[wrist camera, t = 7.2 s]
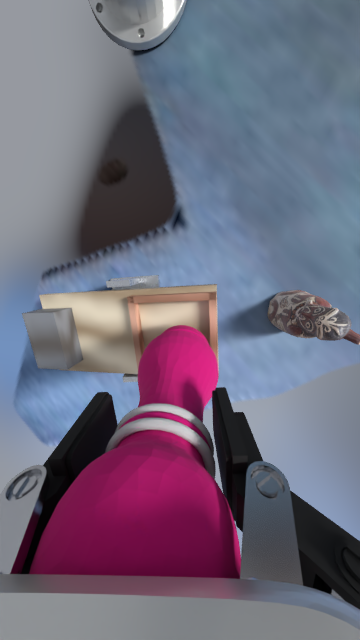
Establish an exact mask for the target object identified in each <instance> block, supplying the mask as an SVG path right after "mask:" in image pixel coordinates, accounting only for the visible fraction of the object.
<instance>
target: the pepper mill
mask: <svg viewBox="0 0 360 640" xmlns="http://www.w3.org/2000/svg"><path fill="white" fill-rule="evenodd" d="M217 382H218V363H217V358H216V356H215V353H214V352H213V350H212V348H211V347H210V346H209V344H208V341H207V339H206V338H205V336H204V335H203V334H202V333H201V332H200V331H198V330H197V329H195V328H193V327H190V326H186V325H177V326H173V327H170V328H168V329H167V330H165V331H164V332H163V333H162V334H161V335H159V336H157V337H156V338H154V339H153V340H152V341H151V342H150V343H149V344H148V345H147V347H146V348H145V350H144V352H143V354H142V357H141V359H140V362H139V367H138V385H139V392H140V402H139V405H138V408H136V409H133V410H132V411H130V412H129V413H128V414H126V415H125V416H124V417H123V418H122V420H121V421H120V422H119V424H118V426H117V428H116V430H115V434H114V435H113V436H112V438H111V439H110V441H109V443H108V445H107V448H106V452H105V454H103V455H102V456H100V457H99V458H97V459H96V460H94V461H92V462H91V463H90V464H89V465H88V466H87V467H86V468H84V469H83V470H82V471H81V473H80V474H79V475H78V477H77V478H76V479H75V480H74V482H73V483H72V484H71V486H70V487H69V488H68V490H67V491H66V492H65V494H64V495H63V497H62V498H61V499H60V501H59V502H58V504H57V506H56V508H55V510H54V512H53V514H52V516H51V518H50V520H49V522H48V524H47V526H46V528H45V530H44V532H43V534H42V536H41V539H40V542H39V545H38V547H37V550H36V553H35V556H34V559H33V562H32V564H31V568H30V572H29V574H46V575H111V576H159V577H199V578H229V579H240V570H241V555H240V547H239V541H238V536H237V531H236V526H235V523H234V519H233V516H232V512H231V509H230V507H229V504H228V501H227V499H226V498H225V496H224V494H223V493H222V491H221V489H220V488H219V486H218V484H217V483H216V481H215V480H214V479H215V461H214V457H213V455H214V447H213V442H212V439H211V436H210V433H209V432H208V430H207V428H206V427H205V425H204V424H203V411H204V407H205V406H206V404H207V403H208V401H209V400H210V398H211V397H212V391H214V390H215V388H216V385H217Z"/></svg>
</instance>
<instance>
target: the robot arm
mask: <svg viewBox="0 0 360 640" xmlns="http://www.w3.org/2000/svg"><path fill="white" fill-rule="evenodd" d="M186 1H187V0H89V3H90V6H91V9H92V11H93V13H94V15H95V18H96V20H97V21H98V23H99V25H100V27H101V28H102V30H103V31H104V32H105V33H106V34H107V35H108V37H109V38H110V39H112V40H113V41H114V42H116V43H117V44H118V45H120V46H123V47H125V48H127V49H131V50H147V49H150V48H152V47H155V46H157V45H158V44H160V43H161V42H163V41H164V40H165V39H166V38H167V37H168V36H169V35H170V34H171V33H172V31H173V30H174V29H175V27H176V26H177V24H178V22H179V20H180V18H181V16H182V14H183V11H184V8H185V5H186ZM212 405H213V431H214V439H215V445H216V451H217V457H218V463H219V469H220V476H221V482H222V488H223V494H224V496H225V498H226V499H227V501H228V504H229V507H230V509H231V512H232V516H233V519H234V521H236V525H237V527H238V528H239V529H240V530H241V531H242V532H243V538H242V554H241V570H240V579H229V578H199V577H159V576H111V575H46V574H29V572H30V568H31V564H32V562H33V559H34V556H35V553H36V550H37V547H38V545H39V542H40V539H41V536H42V534H43V532H44V530H45V528H46V526H47V524H48V522H49V520H50V518H51V516H52V514H53V512H54V510H55V508H56V506H57V504H58V502H59V501H60V499H61V498H62V497H63V495H64V494H65V492H66V491H67V490H68V488H69V487H70V486H71V484H72V483H73V482H74V480H75V479H76V478H77V477H78V475H79V474H80V473H81V471H82V470H83V469H84V468H86V467H87V466H88V465H89V464H90V463H91V462H92V461H94V460H96V459H97V458H99V457H100V456H102V455H103V454H105V452H106V448H107V445H108V443H109V441H110V439H111V438H112V436H113V435H114V434H115V430H116V428H117V426H118V425H117V420H116V415H115V410H114V405H113V400H112V396H111V395H109V393H108V392H98V393H97V394H96V395H95V396H94V398H93V399H92V400H91V402H90V403H89V404H88V406H87V407H86V408H85V410H84V411H83V412H82V414H81V415H80V416H79V418H78V419H77V420H76V422H75V423H74V424H73V426H72V427H71V429H70V430H69V431H68V433H67V434H66V435H65V437H64V438H63V439H62V441H61V442H60V443H59V445H58V446H57V447H56V449H55V450H54V451H53V453H52V454H51V456H50V457H49V458H48V460H47V461H46V462H45V464H44V465H43V466H42V465H36V466H31V467H29V468H27V469H25V470H23V471H22V472H20V473H19V474H17V475H16V476H15V477H14V478H13V479H12V480H11V481H10V482H9V483H8V484H7V485H6V486H5V488H4V489H3V491H2V493H1V494H0V640H360V541H359V540H357V539H356V538H354V537H353V536H352V535H350V534H349V533H348V532H346V531H345V530H344V529H342V528H340V527H339V526H338V525H337V524H335V523H334V522H333V521H331V520H330V519H328V518H327V517H326V516H324V515H323V514H322V513H320V512H319V511H317V510H316V509H315V508H313V507H312V506H311V505H309V504H308V503H307V502H305V501H304V500H302V499H301V498H300V497H298V496H297V495H296V494H294V493H293V492H292V491H290V487H289V484H288V481H287V479H286V478H285V476H284V474H282V472H281V471H280V470H279V469H278V468H276V467H275V466H274V465H272V464H270V463H267V462H263V459H262V457H261V454H260V452H259V449H258V447H257V444H256V442H255V440H254V437H253V434H252V432H251V429H250V427H249V425H248V422H247V419H246V417H245V415H244V413H243V412H233V409H232V406H231V403H230V400H229V397H228V394H227V391H226V388H225V387H223V388H215V390H214V391H212Z"/></svg>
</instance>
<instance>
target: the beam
mask: <svg viewBox="0 0 360 640" xmlns="http://www.w3.org/2000/svg"><path fill="white" fill-rule="evenodd" d="M39 296H40V300H41V304H42V307H43V309H40V310H36V311H31V312H27V313H22V315H23V319H24V322H25V325H26V329H27V332H28V335H29V339H30V342H31V345H32V349H33V352H34V355H35V359H36V362H37V365H38V368H42V369H59V370H70V371H89V372H107V373H125V374H138V367H139V362H140V359H141V357H142V354H143V352H144V350H145V348H146V347H147V345H148V344H149V343H150V342H151V341H152V340H153V339H154V338H156V337H157V336H159V335H161V334H162V333H163V332H164V331H165V330H167V329H168V328H170V327H173V326H177V325H186V326H190V327H193V328H195V329H197V330H198V331H200V332H201V333H202V334H203V335H204V336H205V338H206V339H207V341H208V344H209V346H210V347H211V348H212V350H213V352H214V353H215V356H216V358H217V363H218V325H217V284H210V285H193V286H175V287H158V288H141V289H124V290H107V291H89V292H72V293H55V294H44V295H39ZM218 375H219V370H218Z"/></svg>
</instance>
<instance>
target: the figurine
mask: <svg viewBox="0 0 360 640" xmlns="http://www.w3.org/2000/svg"><path fill="white" fill-rule="evenodd" d="M268 318H269V320H270V321H271V323H272V324H273V325H274V326H276V327H277V328H278V329H280V330H282V331H284V332H286V333H288V334H290V335H293V336H296V337H301V338H313V337H317V338H318V339H320V340H341V339H342V338H344V339H346V340H348V341H351V342H353V343H355V344H360V335H359V334H357V333H355V332H354V331H352V330H351V329H350V328H351V321H350V319H349V317H348V316H347V315H346V314H345V313H343V312H341V311H340V310H338V309H337V308H332V307H331V305H330V304H329V303H328V302H327V301H326V300H324V299H322V298H321V297H318V296H314V295H311V294H309V293H307V292H305V291H301V290H293V291H286V292H280V293H278V294H276V296H275V297H274V298H273V299H272V300H271V301H270V304H269V308H268Z"/></svg>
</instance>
